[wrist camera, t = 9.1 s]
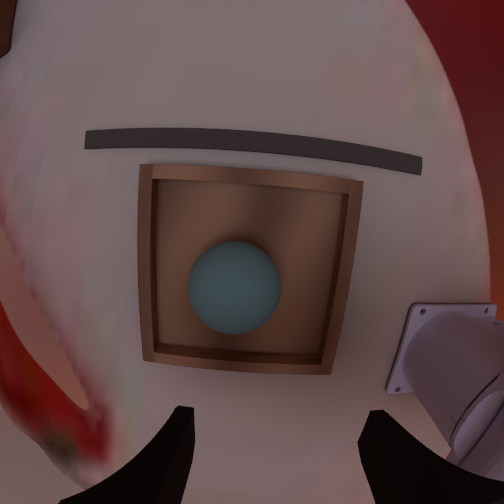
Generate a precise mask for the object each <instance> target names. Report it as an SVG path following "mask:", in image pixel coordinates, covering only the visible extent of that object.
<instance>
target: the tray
mask: <svg viewBox="0 0 504 504" xmlns="http://www.w3.org/2000/svg"><path fill="white" fill-rule="evenodd" d="M362 192H363V181H356V180H349V179H341V178H334V177H326V176H318V175H309V174H300V173H290V172H280V171H269V170H257V169H245V168H230V167H213V166H192V165H161V164H140V171H139V191H138V230H137V252H138V291H139V311H140V326H141V339H142V351H143V361H149V362H156V363H163V364H170V365H178V366H186V367H195V368H204V369H214V370H225V371H238V372H253V373H272V374H309V375H330V374H331V370H332V366H333V362H334V358H335V353H336V349H337V345H338V340H339V336H340V331H341V326H342V321H343V316H344V311H345V306H346V301H347V296H348V290H349V285H350V279H351V273H352V267H353V261H354V254H355V247H356V240H357V233H358V226H359V218H360V210H361V201H362ZM226 241H241V242H246V243H250V244H252V245H254V246H257V247H258V248H260V249H261V250H263V251H264V252H265V253H266V254H267V255H268V256H269V257H270V258H271V259H272V261H273V262H274V264H275V266H276V267H277V270H278V272H279V275H280V280H281V295H280V300H279V303H278V306H277V308H276V310H275V312H274V313H273V315H272V316H271V317H270V318H269V319H268V320H267V322H266V323H264V324H263V325H262V326H260V327H259V328H257V329H255V330H253V331H250V332H247V333H243V334H226V333H222V332H219V331H216V330H214V329H212V328H210V327H209V326H207V325H206V324H205V323H203V322H202V321H201V320H200V319H199V317H198V316H197V315H196V313H195V312H194V310H193V308H192V306H191V303H190V300H189V296H188V278H189V274H190V271H191V269H192V267H193V265H194V263H195V261H196V260H197V259H198V257H199V256H200V255H201V254H202V253H203V252H205V251H206V250H207V249H209V248H210V247H212V246H214V245H216V244H219V243H222V242H226Z"/></svg>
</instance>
